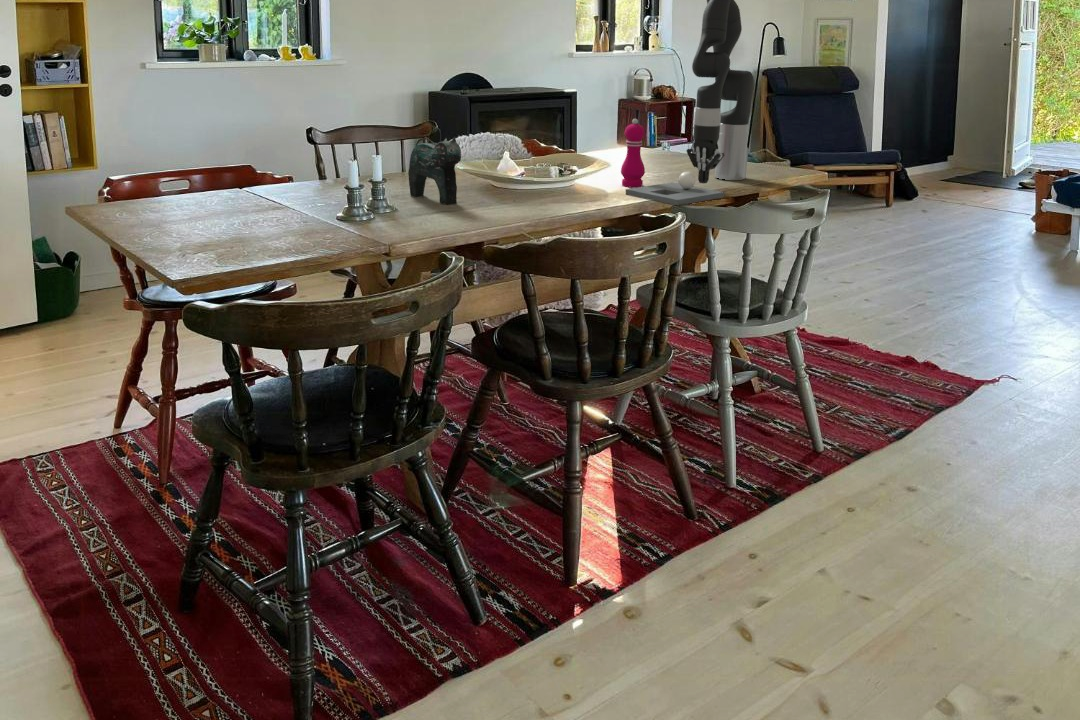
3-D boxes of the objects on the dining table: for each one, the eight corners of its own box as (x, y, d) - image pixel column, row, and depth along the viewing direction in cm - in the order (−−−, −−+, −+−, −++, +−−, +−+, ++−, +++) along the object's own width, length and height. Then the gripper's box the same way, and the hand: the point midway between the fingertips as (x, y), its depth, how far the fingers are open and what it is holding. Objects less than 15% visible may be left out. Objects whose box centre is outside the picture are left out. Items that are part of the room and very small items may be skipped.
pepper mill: (642, 188, 318) (646, 120, 311) (618, 187, 319) (621, 119, 312) (645, 184, 324) (648, 117, 318) (621, 183, 326) (624, 116, 319)
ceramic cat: (463, 204, 290) (463, 130, 283) (444, 207, 286) (443, 131, 279) (421, 193, 304) (420, 122, 297) (402, 195, 300) (400, 124, 293)
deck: (672, 187, 320) (672, 182, 320) (723, 197, 306) (724, 192, 306) (625, 194, 308) (625, 189, 307) (677, 205, 294) (677, 199, 293)
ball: (685, 186, 313) (686, 169, 311) (698, 189, 309) (699, 172, 308) (674, 188, 310) (675, 171, 308) (687, 191, 306) (688, 173, 305)
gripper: (733, 124, 306) (728, 184, 311) (698, 120, 315) (694, 178, 321) (716, 126, 301) (712, 187, 307) (681, 121, 310) (677, 181, 316)
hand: (703, 182), depth 314 cm, fingers closed
